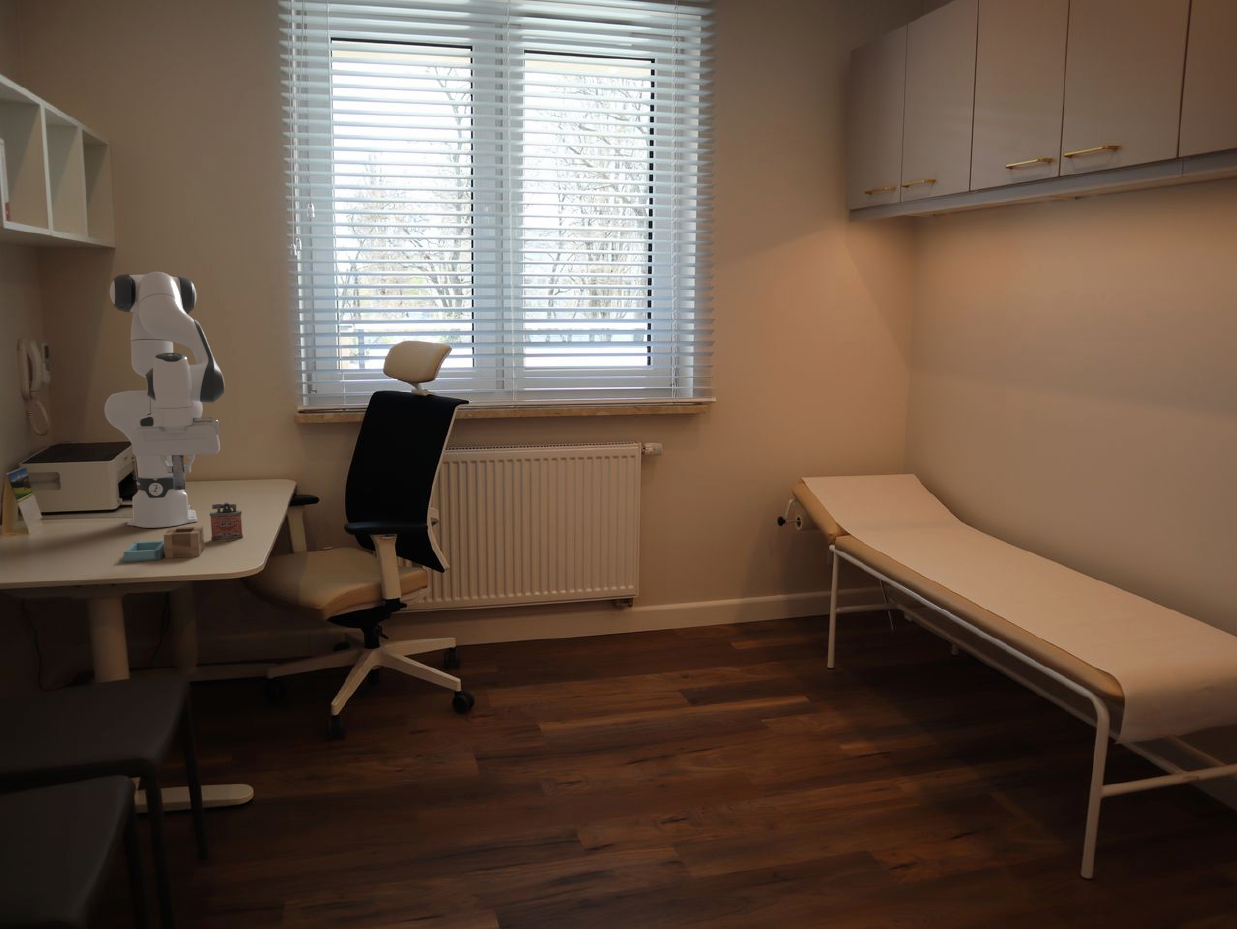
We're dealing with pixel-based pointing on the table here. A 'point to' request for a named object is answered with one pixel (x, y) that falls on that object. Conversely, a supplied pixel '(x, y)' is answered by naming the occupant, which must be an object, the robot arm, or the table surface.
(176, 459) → the post
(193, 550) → the bored block
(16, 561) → the table surface
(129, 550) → the tray
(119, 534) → the table surface
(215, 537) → the lighter
